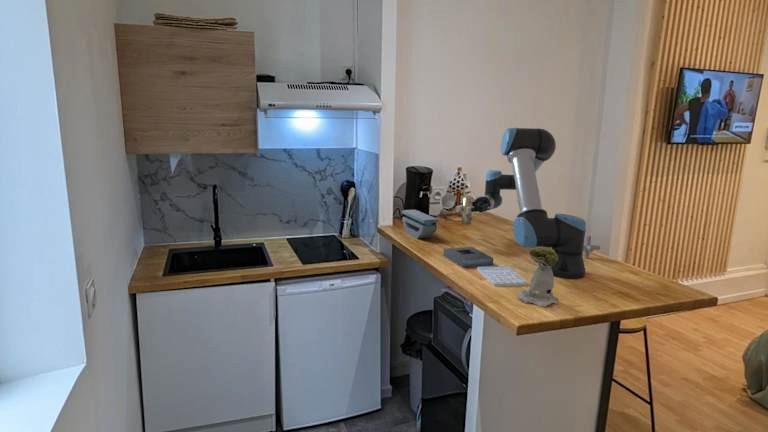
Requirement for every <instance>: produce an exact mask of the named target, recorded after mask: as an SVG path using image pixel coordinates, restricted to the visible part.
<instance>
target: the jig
mask: <svg viewBox="0 0 768 432" xmlns="http://www.w3.org/2000/svg"><path fill="white" fill-rule="evenodd" d="M443 256H444V257H445V258H447V259H448V260H450V261H451V262H453V263H455V264H456V263H457V264H456V265H457V266H459V267H461V268H474V267H475V268H476V267H489V266H494V260H495V259H494V257H492V256H490V255H488V254H486V253H485V252H483V251H481V250H480V249H477V248H476V247H474V246H463V247H462V246H461V247H450V248H449V247H447V248H443Z"/></svg>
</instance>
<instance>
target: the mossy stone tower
mask: <svg viewBox="0 0 768 432" xmlns="http://www.w3.org/2000/svg"><path fill="white" fill-rule="evenodd" d="M528 254H529V255H530V256H529V257H530V259H531V260H533V262H535V263H537V264H538V266H537V267H536V269H535V270H534V272H533V275H532V278H531V279H530V280H531V281H530V283H529V289H523V290H521V291H520V293H517V297H518V298H519V299H520V300H522V301H523V302H522V303H524V304H525V303H526V304H527V303H529V304H530V303H531V304H534V305H535V306H538V307H548V306H550V305H552V306H554V304H555V305H556V304H559V303H558V302H559V298H557V297H556V296H554V293H553V292H552V290H553V289H554V287H555V280H556V278H555V276H553V273H552V269H551V268H552V267H551V266H554V265H555V263H556V262H557V261H558V256H557V254H556V252H555V251H554V250H553V249H552V248H548V247H542V246H541V247H535V248H534V247H533V248H531V249H530V251H529V253H528ZM553 303H554V304H553Z"/></svg>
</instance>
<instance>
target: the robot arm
mask: <svg viewBox="0 0 768 432" xmlns="http://www.w3.org/2000/svg"><path fill="white" fill-rule="evenodd" d="M556 147H557V144H556V140H555V138H554V135H553V134H552V133H551V132H549V131H548V130H547V129H544V128H540V127H539V128H538V127H537V128H530V127H529V128H526V127H525V128H524V127H523V128H521V127H520V128H519V127H508V128H507V129H505V130H504V132H503V134H502V137H501V143H500V152H501V155H503V156H506V157H507V161H508V163H510V164H511V165H512V166H511V167H512V172H513V174H502V171H501V170H498V169H497V170H494V169H493V170H492V169H489V170H487V171H486V176H485V189H484V190H485V191H484V195H482V196H477V197H476V198H475V199H474V200H473V203H472V206H471V207H467V208H466V214H469V213H472V214H473V213H474V212H475V213H484V212H485V213H486V212H487V211H491V210H494V209H497V208H498V207H500V206H501V205H502V204H503V197H502V195H501V190H505V191H507V190H508V191H509V190H511V191H512V190H513V191H514V190H515V191H516V195H517V196H516V197H517V202H518V203H517V204H518V208H519V212H518V214H517V215H516V218H515V219H514V221H513V225H512V226H513V229H512V231H513V236H514V238H515V241H516V242H517V243H516V244H518V245H519V246H520V247H523V248H530V249H532V248H533V247H534V248H535V247H541V246H542V247H548V248H551V249H553V250H554V251H555V252H556V254H557V256H558V261H557V262H556V263H555V265H554V266H551V267H552V268H551V269H552V273H553V277H556V278H561V279H563V278H564V279H570V280H571V279H573V280H574V279H582V278H585V276H586V268H585V263H584V262H585V261H584V258H583V257H584V256H583V254H584V249H583V247H584V242H585V240H586V238H585V236H586V231H587V222H586V220H584V218H581V217H579V216H575V215H570V214H566V213H555V214H554V217H549V215H548V211H547V210H546V209H545V208H543V206H542V201H541V196H540V191H539V184H538V179H537V175H536V172H537V171H538V170H539V169H540V167H541V166H542V165H543V164H544V163H545V162H546V161H548V160H550V159H551V158H552V157H553V156H554V154H555V151H556ZM462 208H463V202H460V203H458V205H457V206H456V207H455V212H456V213H462Z"/></svg>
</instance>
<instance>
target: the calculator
mask: <svg viewBox="0 0 768 432" xmlns="http://www.w3.org/2000/svg"><path fill="white" fill-rule="evenodd" d="M476 267H477V268H476V270H477V272H479V274H480V275H482V276H483V277H484V279H486V280H487V281H488V282H489V283H490V284H491V286H493V285H494V286H493V287H526V286H528V283H529V282H527V280H525V278H523V277H522V276H520V275H519V274H518V273H517V272H515V270H513V269H512V268H511V267H509V266H506V265H505V266H503V265H502V266H499V265H498V266H494V265H488V266H476Z"/></svg>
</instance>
